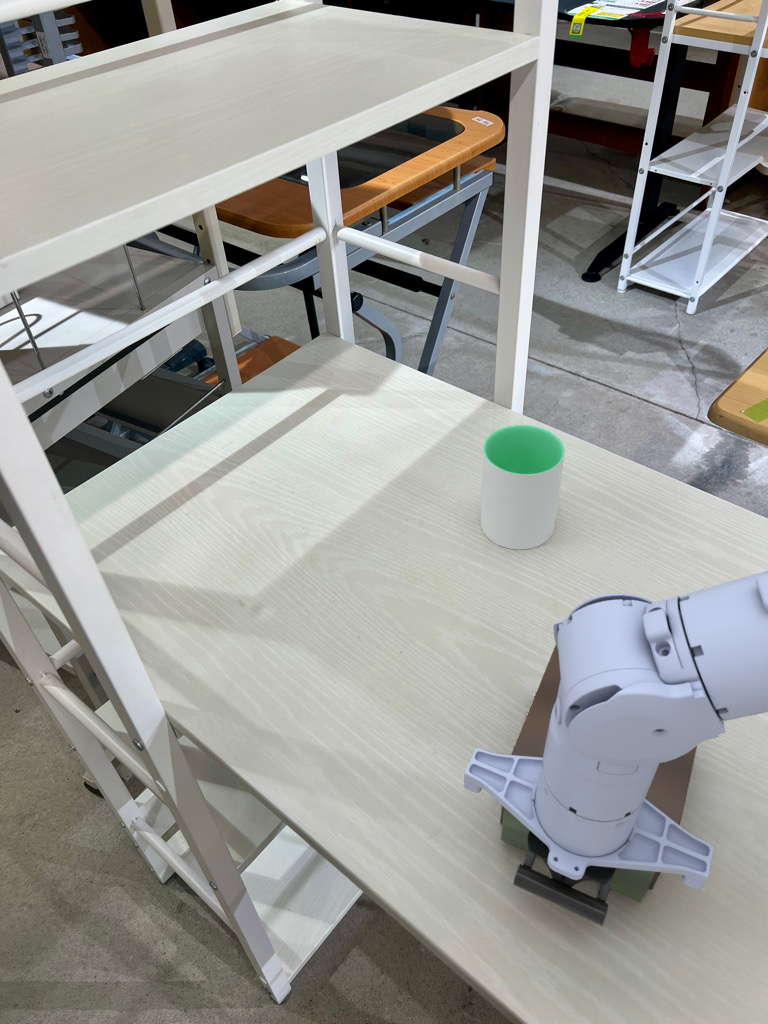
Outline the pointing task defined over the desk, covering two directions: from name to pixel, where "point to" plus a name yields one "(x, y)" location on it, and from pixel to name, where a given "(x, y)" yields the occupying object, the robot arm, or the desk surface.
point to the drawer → (564, 895)
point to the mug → (521, 486)
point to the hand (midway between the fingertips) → (565, 869)
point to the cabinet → (669, 775)
